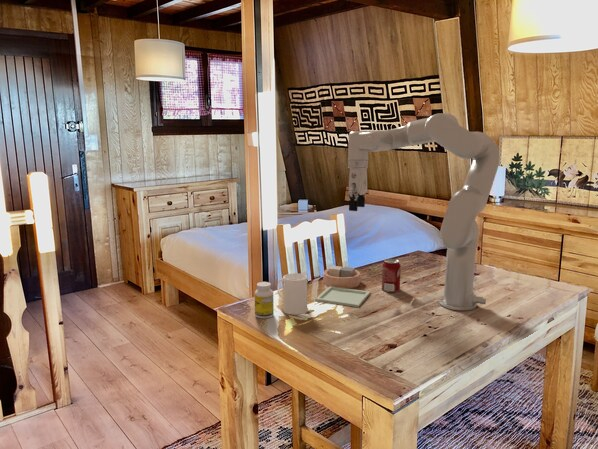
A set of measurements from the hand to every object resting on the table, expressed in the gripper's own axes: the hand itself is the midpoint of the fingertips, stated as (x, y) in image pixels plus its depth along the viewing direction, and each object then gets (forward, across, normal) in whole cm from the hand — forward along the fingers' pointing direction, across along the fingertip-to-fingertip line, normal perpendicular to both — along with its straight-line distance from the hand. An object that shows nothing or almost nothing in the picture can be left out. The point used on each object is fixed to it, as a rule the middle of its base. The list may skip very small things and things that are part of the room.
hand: (356, 208), depth 191 cm
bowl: (+30, -2, +5) cm, 31 cm away
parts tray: (+30, -18, -1) cm, 35 cm away
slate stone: (+30, -2, +2) cm, 30 cm away
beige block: (+30, -2, +8) cm, 31 cm away
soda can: (+31, -3, -15) cm, 34 cm away
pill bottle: (+31, -44, +18) cm, 56 cm away
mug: (+31, -35, +12) cm, 48 cm away
